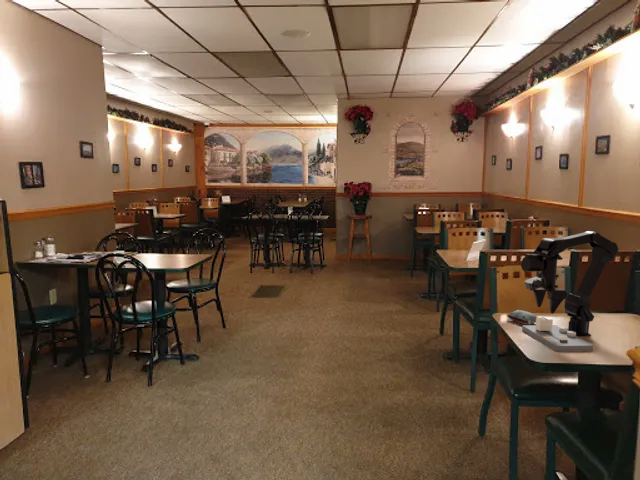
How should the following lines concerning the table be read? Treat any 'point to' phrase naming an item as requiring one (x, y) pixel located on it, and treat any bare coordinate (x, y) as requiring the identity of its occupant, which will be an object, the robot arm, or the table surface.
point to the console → (558, 338)
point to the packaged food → (522, 317)
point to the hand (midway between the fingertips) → (545, 310)
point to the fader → (544, 323)
